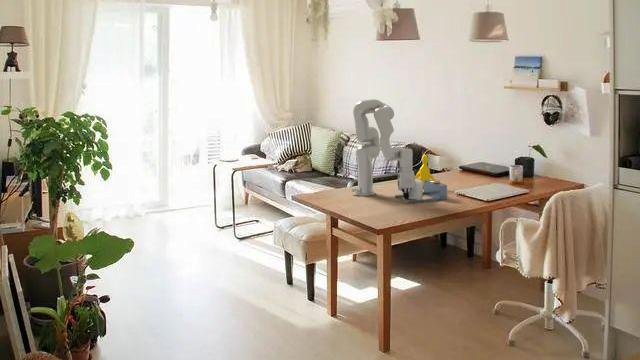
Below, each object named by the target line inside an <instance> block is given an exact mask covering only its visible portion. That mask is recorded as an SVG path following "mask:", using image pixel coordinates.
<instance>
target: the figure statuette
mask: <svg viewBox="0 0 640 360" xmlns="http://www.w3.org/2000/svg"><path fill="white" fill-rule="evenodd" d="M428 161H429V158H428V155H427V154H423V155H422V157H421V162H422V166H421V167H420V168H419V170H418V172H417V173H416V175H415V179H417V180H420V181H422V182H423V188H424V180H437V179H436V178H435V177H434V176H433V175H432V174H431V169H430V167H428V165H427V164H428Z"/></svg>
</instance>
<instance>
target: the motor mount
mask: <svg viewBox="0 0 640 360" xmlns="http://www.w3.org/2000/svg"><path fill="white" fill-rule="evenodd" d="M423 196H428V197H430V198H425V199H422V200H415V199H414V200H408V202H407V203H408V205H415V204H422V203H423V204H424V203H429V202H439V201H440V202H441V201H445V200H448V185H447V184H445V183H443V182H441V180H439V179H436V180H432V179H430V180H424V187H423ZM401 197H402V198H404V197H403V193H402V194H395V195H394V199H401Z"/></svg>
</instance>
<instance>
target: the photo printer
mask: <svg viewBox="0 0 640 360" xmlns="http://www.w3.org/2000/svg"><path fill="white" fill-rule="evenodd" d="M423 192H424V187H423V182H422V181H420V180H419V179H418V178H417V179H415V187H413V189H411V191H410V192H409V199H408V200H414V201H415V200H423V196H424V195H423Z"/></svg>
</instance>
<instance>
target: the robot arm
mask: <svg viewBox="0 0 640 360" xmlns="http://www.w3.org/2000/svg"><path fill="white" fill-rule="evenodd" d="M352 113H353V118H354V124H355V125H354V126H355V135H356V136H355V138H356V141H357V142H358V143H359V144H362V145H359V146H358V147H357V149H355V150H356V151H355V158H356V165H357V186H356V187H355V188H351V189H350V192H351V193H355V195H357V196H360V197H361V196H362V197H364V196H365V197H366V196H373V195H376V191H375V190H374V183H373V182H374V181H373V178H374V177H373V173H374V172H373V164H372V161H371V159H376V158H378V157H379V155H380V154H381V153H382V156H383V158H384V159H385V160H386V161H388V162H393V161H397V160H399V168H397V169H398V176H397V191H401V192H402V194H403V197H402V198H403V199H404V200H410V199H409V192H410V191H411V189H413V187H415V176H416V175H415V171H414V170H413V155H414V153H413V149H412V148H406V147H405V148H404V147H400V146H396V147H392V146H391V142H390V138H391V135H392V134H393V133H394V131H395V129H394V127H393V124H392V122H391V120H393V119H394V117H395V111H394V109H393V108H392V107H391V106H390V105H387V104H386V103H384V102H382V101H380V100H379V99H375V98H373V99H364V100H361V101H358V102H357V103H356V104H355V105H354V107H353V110H352ZM368 114H373V117H374V120H375V123H376V126H377V128H378V130H379V131H378V130H377V128H376V127H375V126H370V125H369V123H370V122H369V119H368V117H367V115H368ZM379 133H380V135H379ZM365 143H366V144H365Z"/></svg>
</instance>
